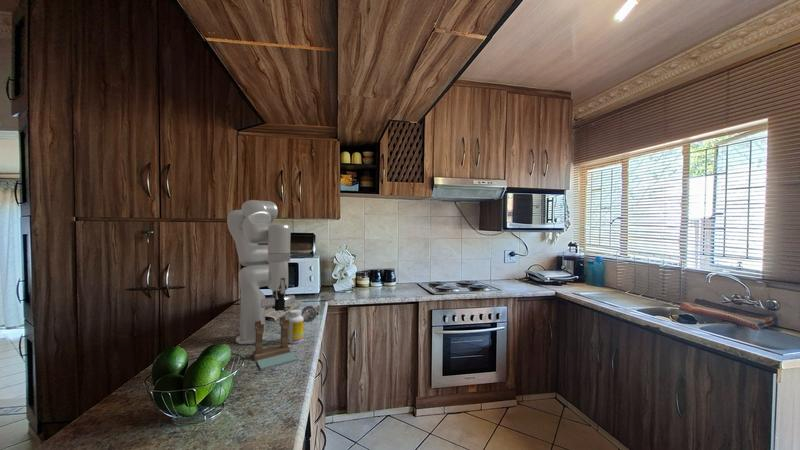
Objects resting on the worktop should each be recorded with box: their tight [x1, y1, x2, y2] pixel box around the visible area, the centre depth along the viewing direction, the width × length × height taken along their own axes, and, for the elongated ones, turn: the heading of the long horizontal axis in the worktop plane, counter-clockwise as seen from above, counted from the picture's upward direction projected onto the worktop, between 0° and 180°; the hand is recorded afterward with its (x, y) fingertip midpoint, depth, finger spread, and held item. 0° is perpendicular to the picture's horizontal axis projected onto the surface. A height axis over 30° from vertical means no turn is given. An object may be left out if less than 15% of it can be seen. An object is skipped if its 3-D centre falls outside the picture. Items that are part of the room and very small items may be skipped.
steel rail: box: [261, 294, 296, 309], centre depth 102 cm, size 11×3×3 cm, turn 128°
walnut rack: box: [252, 315, 291, 362], centre depth 109 cm, size 6×12×12 cm, turn 128°
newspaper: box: [265, 299, 303, 321], centre depth 165 cm, size 35×12×4 cm, turn 176°
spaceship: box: [301, 304, 322, 322], centre depth 147 cm, size 8×35×8 cm
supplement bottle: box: [286, 308, 305, 345], centre depth 121 cm, size 7×7×13 cm
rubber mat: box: [256, 351, 298, 371], centre depth 102 cm, size 7×12×1 cm, turn 128°
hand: (278, 308), depth 102 cm, fingers closed on steel rail, 3 cm apart
